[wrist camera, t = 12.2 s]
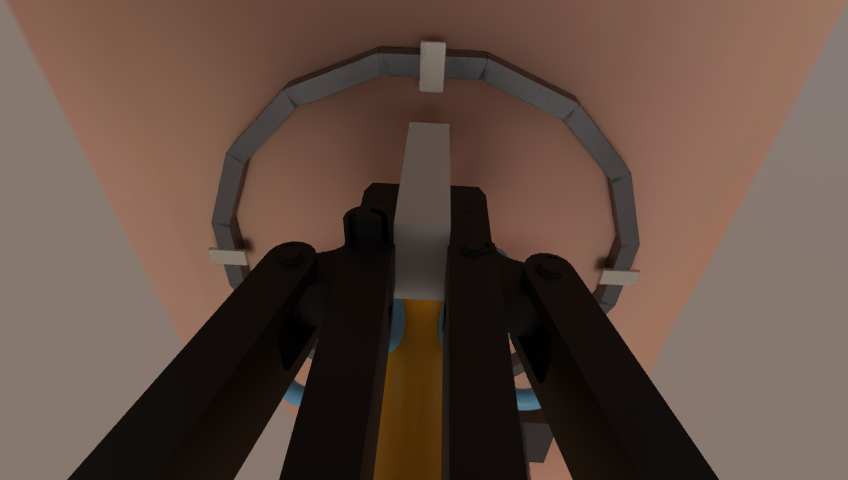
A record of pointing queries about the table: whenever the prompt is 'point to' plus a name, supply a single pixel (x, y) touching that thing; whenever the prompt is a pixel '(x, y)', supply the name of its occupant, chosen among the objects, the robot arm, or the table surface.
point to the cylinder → (413, 394)
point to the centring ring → (432, 70)
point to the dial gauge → (534, 436)
